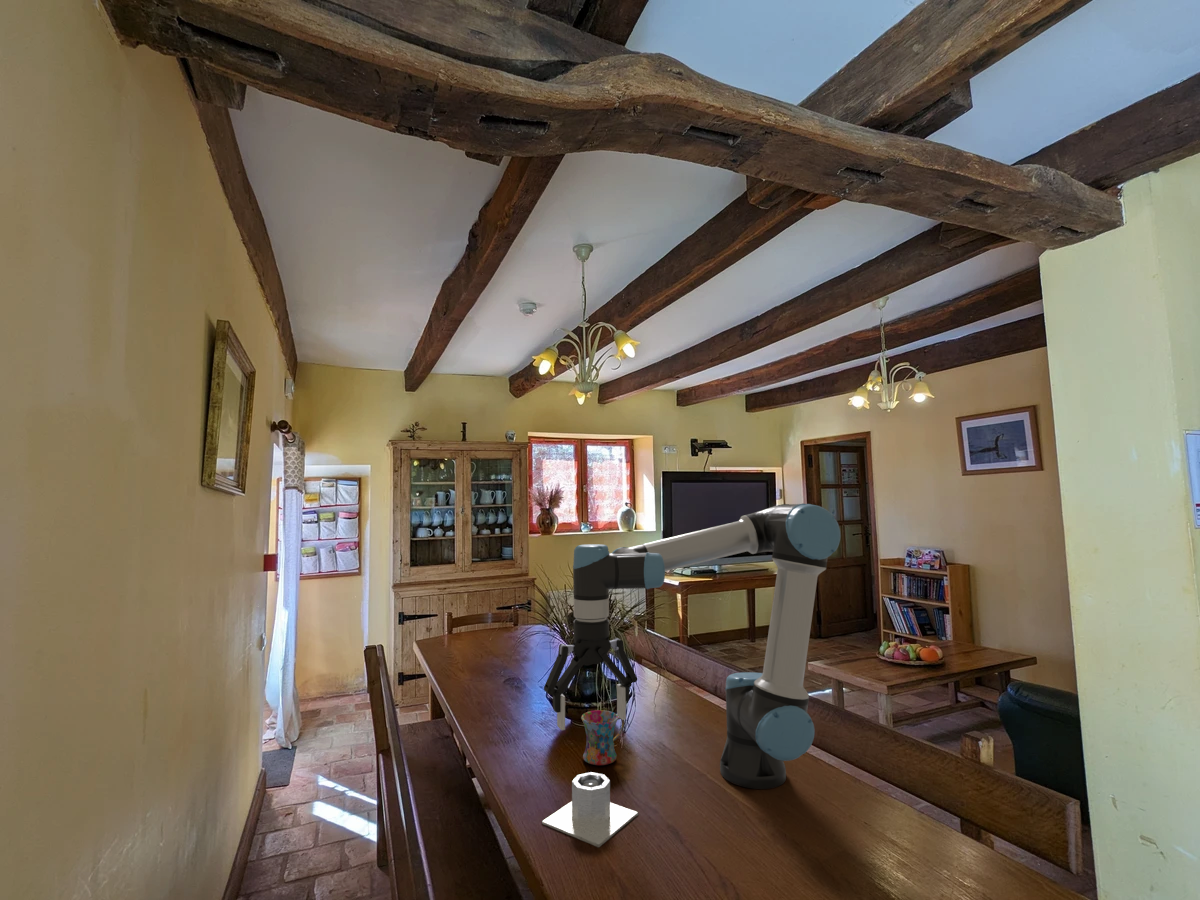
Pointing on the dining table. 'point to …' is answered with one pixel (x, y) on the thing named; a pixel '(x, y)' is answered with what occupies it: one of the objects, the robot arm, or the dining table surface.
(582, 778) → the grey hollow octagonal block
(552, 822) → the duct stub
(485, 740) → the dining table surface
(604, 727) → the mug
